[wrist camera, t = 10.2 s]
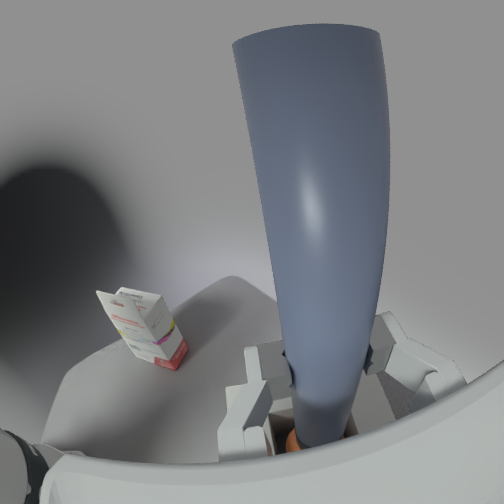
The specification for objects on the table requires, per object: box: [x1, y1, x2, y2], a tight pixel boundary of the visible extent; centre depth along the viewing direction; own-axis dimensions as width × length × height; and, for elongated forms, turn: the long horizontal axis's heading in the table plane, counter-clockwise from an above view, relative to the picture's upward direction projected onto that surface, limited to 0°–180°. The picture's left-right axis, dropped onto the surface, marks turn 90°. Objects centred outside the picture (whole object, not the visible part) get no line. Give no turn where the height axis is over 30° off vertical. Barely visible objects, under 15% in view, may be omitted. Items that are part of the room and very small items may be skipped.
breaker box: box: [225, 369, 396, 455], centre depth 20 cm, size 12×12×14 cm
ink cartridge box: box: [96, 287, 189, 370], centre depth 38 cm, size 9×5×15 cm, turn 71°
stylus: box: [232, 24, 390, 450], centre depth 10 cm, size 3×3×20 cm
